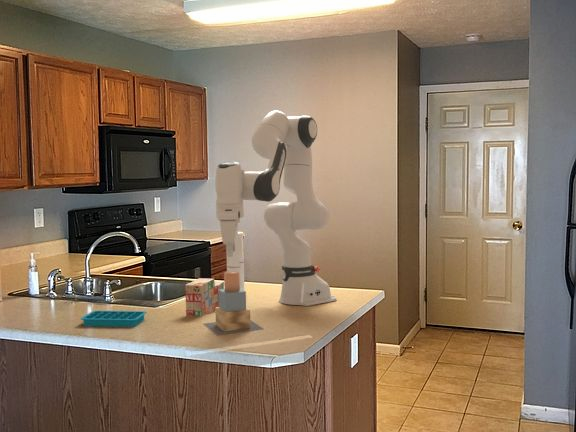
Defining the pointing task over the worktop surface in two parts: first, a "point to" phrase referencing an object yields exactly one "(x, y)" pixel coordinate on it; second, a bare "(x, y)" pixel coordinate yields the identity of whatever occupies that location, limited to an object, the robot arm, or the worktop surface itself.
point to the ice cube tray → (114, 318)
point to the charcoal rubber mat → (219, 331)
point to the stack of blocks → (202, 296)
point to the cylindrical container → (237, 259)
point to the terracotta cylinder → (232, 281)
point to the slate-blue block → (232, 300)
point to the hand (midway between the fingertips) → (231, 254)
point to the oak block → (232, 319)
